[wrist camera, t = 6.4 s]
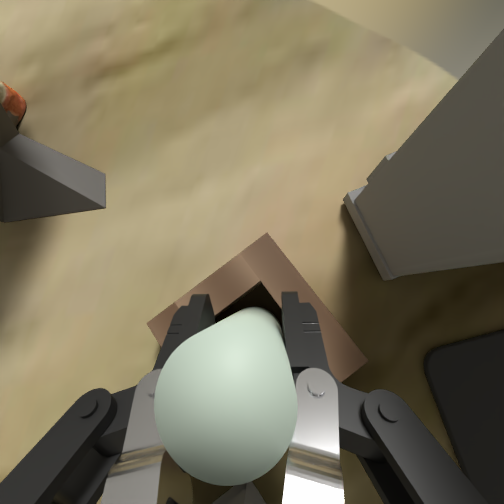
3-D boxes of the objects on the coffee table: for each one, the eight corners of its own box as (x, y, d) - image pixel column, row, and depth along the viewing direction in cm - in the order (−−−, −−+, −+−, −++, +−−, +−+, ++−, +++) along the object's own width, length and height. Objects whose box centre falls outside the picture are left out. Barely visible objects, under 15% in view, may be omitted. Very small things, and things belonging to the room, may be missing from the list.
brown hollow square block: (241, 437, 15) (234, 465, 12) (165, 318, 17) (146, 323, 14) (353, 349, 15) (368, 360, 13) (268, 241, 17) (267, 232, 14)
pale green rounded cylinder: (249, 374, 15) (206, 520, 6) (217, 327, 16) (128, 383, 6) (293, 340, 15) (328, 423, 6) (260, 295, 16) (239, 299, 6)
